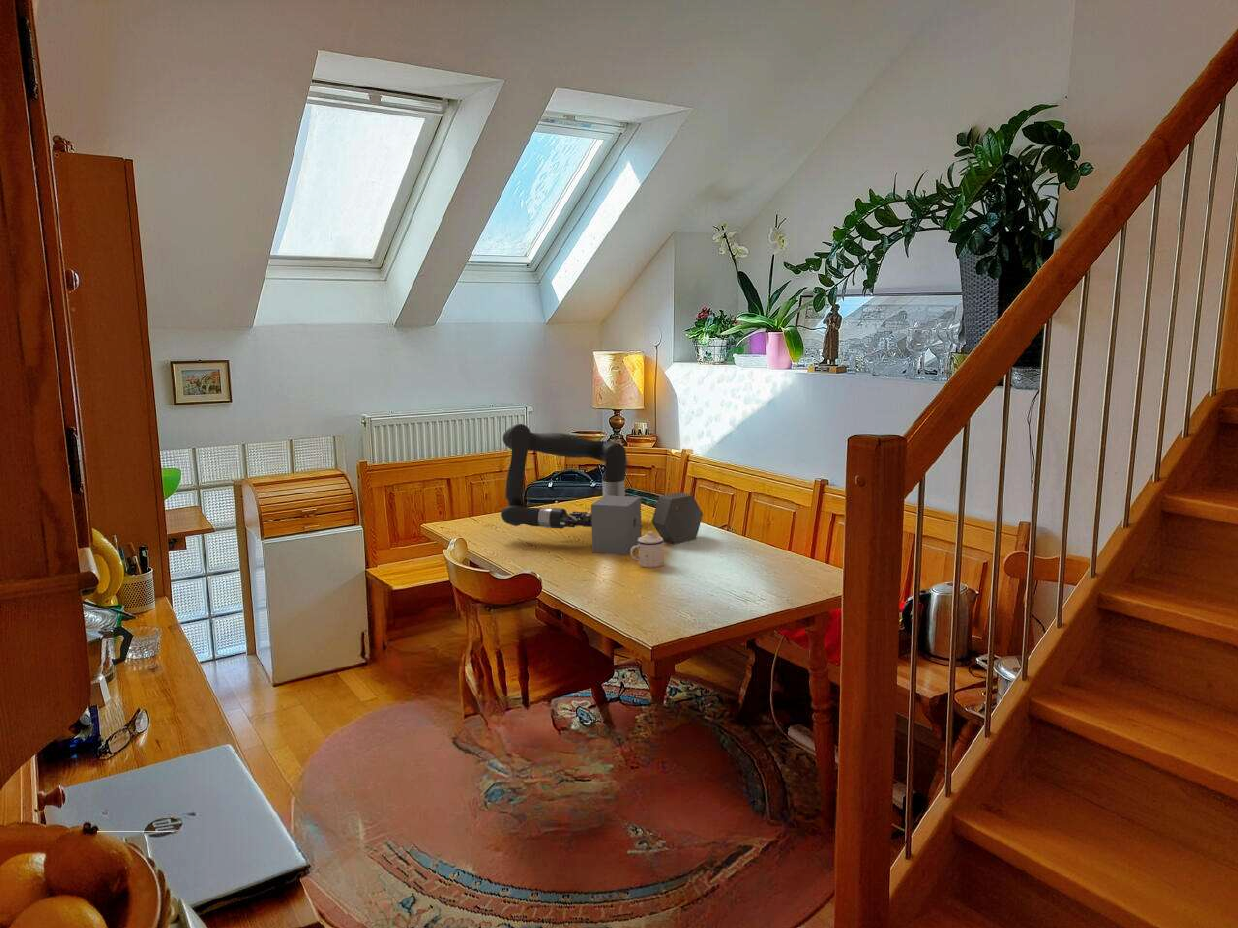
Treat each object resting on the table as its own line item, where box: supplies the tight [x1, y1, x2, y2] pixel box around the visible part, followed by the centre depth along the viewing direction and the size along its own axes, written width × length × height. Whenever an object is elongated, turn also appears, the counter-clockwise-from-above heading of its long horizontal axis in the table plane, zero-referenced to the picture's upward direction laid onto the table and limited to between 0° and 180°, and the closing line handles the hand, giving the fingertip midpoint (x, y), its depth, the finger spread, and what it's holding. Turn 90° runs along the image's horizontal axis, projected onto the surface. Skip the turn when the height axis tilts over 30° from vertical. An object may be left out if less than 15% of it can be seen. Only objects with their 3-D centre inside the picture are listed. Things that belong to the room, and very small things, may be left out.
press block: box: [590, 495, 643, 556], centre depth 319 cm, size 16×14×18 cm
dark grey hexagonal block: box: [650, 492, 704, 545], centre depth 328 cm, size 17×8×21 cm
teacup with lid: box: [629, 530, 665, 569], centre depth 297 cm, size 12×9×12 cm
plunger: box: [582, 512, 592, 528], centre depth 320 cm, size 5×19×5 cm, turn 71°
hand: (592, 520), depth 322 cm, fingers open, 8 cm apart
